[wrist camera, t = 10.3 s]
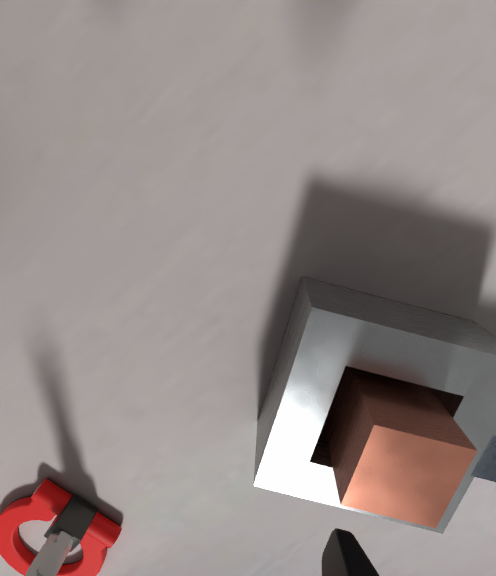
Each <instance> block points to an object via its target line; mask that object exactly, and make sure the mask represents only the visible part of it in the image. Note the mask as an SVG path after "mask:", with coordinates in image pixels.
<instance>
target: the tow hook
mask: <svg viewBox="0 0 496 576" xmlns="http://www.w3.org/2000/svg"><path fill="white" fill-rule="evenodd" d="M55 515H57V516H56V518H55V519H54V521H53V523H52V524H51V526H50V527H49V529H48V530H47V532H46V533H45V535H44V536H45V537H46V538H47V540H46V542H45V544H44V545H43V546H42V548H41V550H40V551H39V553H38V554H37V556H35V555H33V554H32V553H31V552H30V551H29V550H27V548H26V547H25V546H24V545H23V543H22V542H21V540H20V538H19V533H18V528H19V525H20V524H22V523H23V522H26V521H30V520H42V521H50V520H52V518H53V517H54V516H55ZM121 529H122V527H120V526H119V525H117V524H116V523H114V522H113V521H111V520H109V519H108V518H106V517H105V516H103V515H102V514H100V513H99V512H97V509H96V508H94V507H93V506H91V505H90V504H88V503H87V502H85V501H83V500H82V499H80V498H79V497H77V496H76V495H71V494H69V493H68V492H66V491H65V490H63V489H62V488H60V487H58V486H57V485H55V484H54V483H52V482H51V481H49V480H48V479H45V480H44V481H43V482H41V484H40V485H39V486H38V487H37V489H36V490H35V491H34V493H33V495H32V496H31V497H26V498H23V499H19V500H16V501H14V502H13V503H11V504H10V505H8V506H7V507H6V508H5V509H4V511H3V512H2V513H1V514H0V555H1V556H2V557H3V558H4V559H5V561H6V562H7V563H8V564H9V565H10V566H11V567H13V568H14V569H15V570H16V571H18V572H19V573H21V574H22V575H24V576H96V575H97V574H98V573H99V572H100V569H101V567H102V565H103V563H104V560H105V557H106V555H107V549H106V547H108V548H111V547H112V545H113V544H114V543H115V541H116V540H117V538H118V537H119V535H120V532H121ZM79 543H80V544H81V547H82V549H83V558H82V560H80V561H78V562H76V563H74V564H69V565H62V564H63V562H64V560H65V558H66V556H67V555H68V553H69V552H71V551H72V550H73V549H74V548H75V547H76V546H77V545H78V544H79Z"/></svg>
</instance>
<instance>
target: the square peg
mask: <svg viewBox="0 0 496 576" xmlns="http://www.w3.org/2000/svg"><path fill="white" fill-rule="evenodd" d="M324 429H325V433H326V438H327V443H328V448H329V452H330V457H331V462H332V466H333V471H334V476H335V481H336V485H337V490H338V495H339V499H340V504H341V505H343V506H347V507H351V508H355V509H359V510H363V511H367V512H371V513H375V514H379V515H383V516H387V517H391V518H395V519H399V520H403V521H407V522H411V523H416V524H420V525H424V526H428V527H432V528H436V527H437V525H438V523H439V522H440V520H441V518H442V516H443V514H444V512H445V510H446V509H447V507H448V505H449V503H450V501H451V499H452V497H453V495H454V494H455V492H456V490H457V488H458V486H459V484H460V482H461V481H462V479H463V477H464V475H465V473H466V471H467V469H468V467H469V466H470V464H471V462H472V460H473V458H474V456H475V454H476V453H477V449H476V448H475V447H474V445H473V444H472V443H471V441H470V440H469V439H468V437H467V436H466V435H465V433H464V432H463V431H462V429H461V428H460V427H459V426H458V424H457V423H456V422H455V420H454V419H453V418H452V416H451V415H450V414H449V412H448V411H447V410H446V408H445V407H444V406H443V405H442V403H441V402H440V401H439V399H438V398H437V397H436V395H435V394H434V393H433V391H432V390H431V389H430V387H426V386H422V385H419V384H415V383H411V382H407V381H403V380H399V379H395V378H391V377H388V376H384V375H380V374H376V373H372V372H368V371H364V370H361V369H357V368H353V367H349V366H345V369H344V372H343V374H342V377H341V379H340V382H339V385H338V387H337V390H336V393H335V395H334V398H333V401H332V403H331V406H330V409H329V411H328V414H327V417H326V419H325V422H324Z"/></svg>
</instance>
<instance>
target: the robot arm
mask: <svg viewBox="0 0 496 576" xmlns="http://www.w3.org/2000/svg"><path fill="white" fill-rule="evenodd" d="M322 576H379V574H378V573H377V571H376V570H375V568H374V566H373V565H372V563H371V562H370V560H369V559H368V557H367V555H366V554H365V552H364V551H363V549H362V548H361V546H360V545H359V543H358V541H357V540H356V538H355V537H354V535H353V534H352V533H351V532H349V531H345V530H341V529H334V530H333V531H332V533H331V535H330V538H329V540H328V542H327V545H326V547H325V549H324V552H323V556H322Z"/></svg>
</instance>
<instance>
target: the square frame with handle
mask: <svg viewBox="0 0 496 576" xmlns="http://www.w3.org/2000/svg"><path fill="white" fill-rule="evenodd" d="M345 366H349V367H353V368H357V369H361V370H364V371H368V372H372V373H376V374H380V375H384V376H388V377H391V378H395V379H399V380H403V381H407V382H411V383H415V384H419V385H422V386H426V387H430V389H431V390H432V391H433V393H434V394H435V395H436V397H437V398H438V399H439V401H440V402H441V403H442V405H443V406H444V407H445V408H446V410H447V411H448V412H449V414H450V415H451V416H452V418H453V419H454V420H455V422H456V423H457V424H458V426H459V427H460V428H461V429H462V431H463V432H464V433H465V435H466V436H467V437H468V439H469V440H470V441H471V443H472V444H473V445H474V447H475V448H476V449H477V453H476V454H475V456H474V458H473V460H472V462H471V464H470V466H469V467H468V469H467V471H466V473H465V475H464V477H463V479H462V481H461V482H460V484H459V486H458V488H457V490H456V492H455V494H454V495H453V497H452V499H451V501H450V503H449V505H448V507H447V509H446V510H445V512H444V514H443V516H442V518H441V520H440V522H439V523H438V525H437V527H436V528H432V527H428V526H424V525H420V524H416V523H411V522H407V521H403V520H399V519H395V518H391V517H387V516H383V515H379V514H375V513H371V512H367V511H363V510H359V509H355V508H351V507H347V506H343V505H341V504H340V499H339V495H338V490H337V485H336V481H335V476H334V471H333V466H332V462H331V457H330V452H329V448H328V443H327V438H326V433H325V429H324V422H325V419H326V417H327V414H328V411H329V409H330V406H331V403H332V401H333V398H334V395H335V393H336V390H337V387H338V385H339V382H340V379H341V377H342V374H343V372H344V369H345ZM474 477H478V478H482V479H486V480H490V481H494V482H496V337H495V336H493V335H492V334H491V333H489V332H488V331H486V330H485V329H483V328H482V327H481V326H479V325H478V324H476V323H475V322H473V321H469V320H465V319H461V318H458V317H454V316H450V315H446V314H442V313H438V312H435V311H431V310H427V309H423V308H419V307H415V306H412V305H408V304H404V303H400V302H396V301H393V300H389V299H385V298H381V297H377V296H373V295H370V294H366V293H362V292H358V291H354V290H350V289H347V288H343V287H339V286H335V285H331V284H327V283H324V282H320V281H316V280H312V279H308V278H304V277H302V280H301V283H300V286H299V290H298V293H297V296H296V299H295V303H294V306H293V309H292V312H291V315H290V319H289V322H288V325H287V328H286V332H285V335H284V338H283V341H282V345H281V348H280V351H279V354H278V357H277V361H276V364H275V367H274V370H273V374H272V377H271V380H270V383H269V387H268V390H267V393H266V396H265V399H264V403H263V406H262V409H261V412H260V416H259V419H258V422H257V438H256V455H255V472H254V486H257V487H261V488H265V489H269V490H273V491H277V492H281V493H285V494H289V495H293V496H297V497H300V498H304V499H308V500H312V501H316V502H320V503H324V504H328V505H332V506H336V507H340V508H344V509H348V510H352V511H356V512H360V513H363V514H367V515H371V516H375V517H379V518H383V519H387V520H391V521H395V522H399V523H403V524H407V525H411V526H415V527H419V528H423V529H426V530H430V531H434V532H438V533H442V534H443V532H444V530H445V528H446V527H447V525H448V523H449V521H450V519H451V518H452V516H453V514H454V512H455V510H456V509H457V507H458V505H459V503H460V502H461V500H462V498H463V496H464V494H465V493H466V491H467V489H468V487H469V485H470V484H471V482H472V480H473V478H474Z"/></svg>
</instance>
